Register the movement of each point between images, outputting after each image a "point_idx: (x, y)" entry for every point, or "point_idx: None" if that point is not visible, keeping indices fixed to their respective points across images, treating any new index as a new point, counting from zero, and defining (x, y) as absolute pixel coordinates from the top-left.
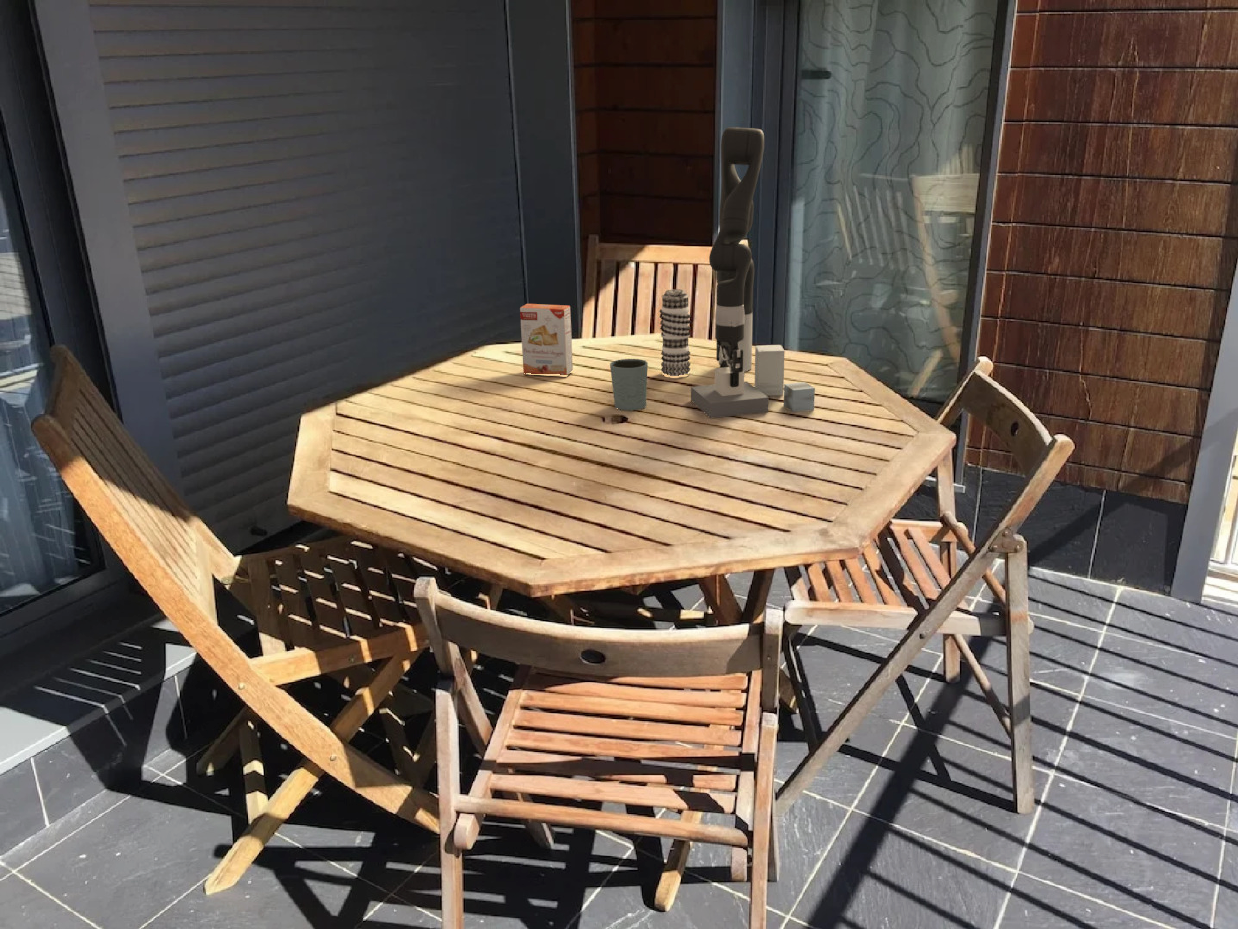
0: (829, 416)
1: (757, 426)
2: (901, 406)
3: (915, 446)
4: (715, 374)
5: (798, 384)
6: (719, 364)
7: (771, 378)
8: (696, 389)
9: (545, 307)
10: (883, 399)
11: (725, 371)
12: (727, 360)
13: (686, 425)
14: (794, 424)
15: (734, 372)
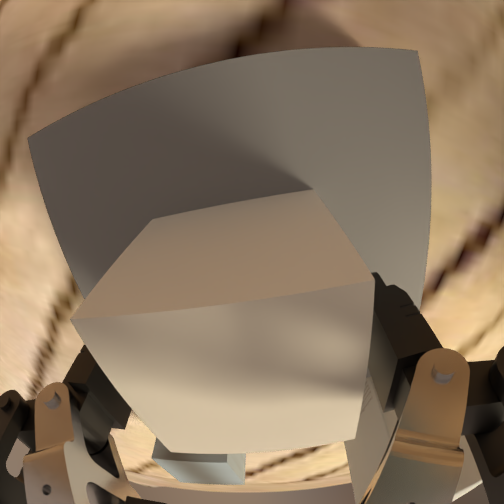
0: (139, 435)
1: (23, 288)
2: (209, 489)
3: None
4: (321, 245)
5: (220, 476)
6: (432, 355)
7: (359, 436)
8: (350, 62)
9: None
10: (250, 488)
11: (174, 370)
12: (32, 484)
13: (19, 46)
14: (65, 371)
15: (10, 396)
